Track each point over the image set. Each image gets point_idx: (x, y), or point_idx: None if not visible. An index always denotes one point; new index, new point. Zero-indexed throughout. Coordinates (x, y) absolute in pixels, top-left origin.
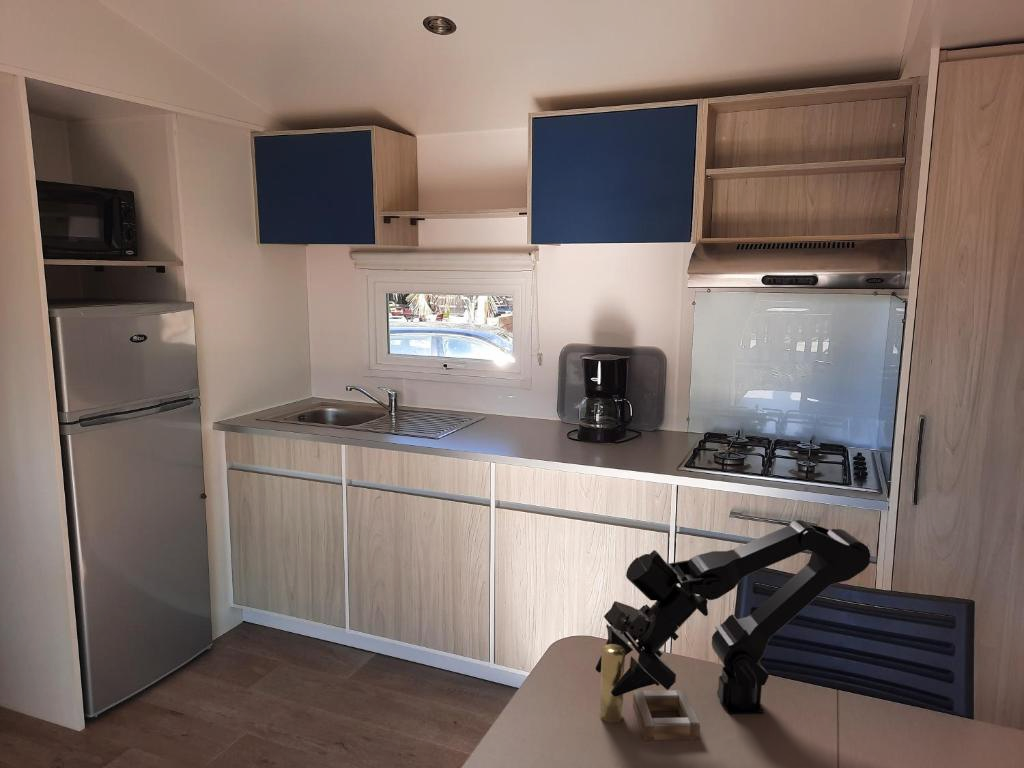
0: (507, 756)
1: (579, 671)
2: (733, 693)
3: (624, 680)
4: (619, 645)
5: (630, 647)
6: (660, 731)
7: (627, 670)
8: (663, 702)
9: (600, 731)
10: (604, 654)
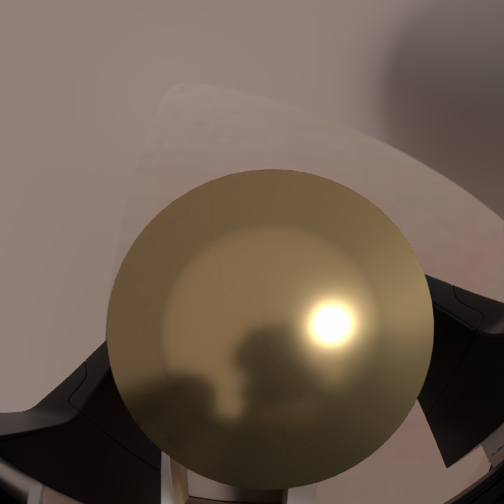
0: (163, 107)
1: (462, 267)
2: None
3: (87, 360)
4: (393, 431)
5: (457, 460)
6: None
7: (85, 400)
8: (284, 490)
9: None
10: (198, 196)
